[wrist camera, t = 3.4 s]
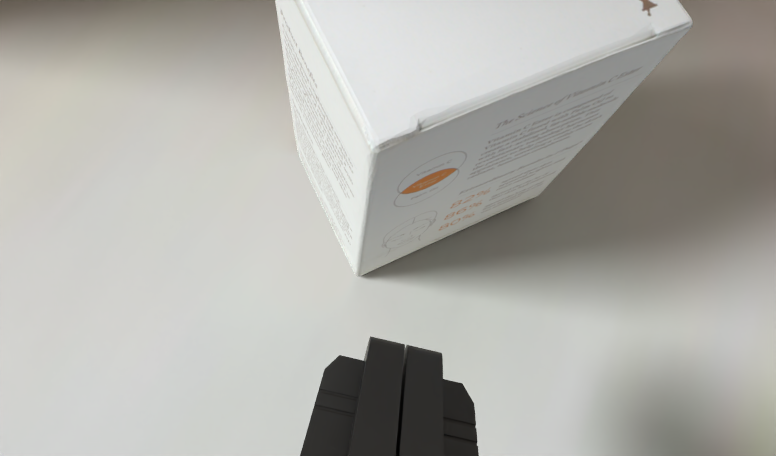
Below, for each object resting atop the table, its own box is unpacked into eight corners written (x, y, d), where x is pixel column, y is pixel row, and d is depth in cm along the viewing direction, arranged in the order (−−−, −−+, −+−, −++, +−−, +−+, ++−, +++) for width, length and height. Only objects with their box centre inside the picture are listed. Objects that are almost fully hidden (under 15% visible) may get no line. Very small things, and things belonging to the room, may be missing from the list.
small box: (473, 84, 24) (574, -161, 14) (540, 199, 22) (708, 18, 12) (292, 152, 22) (258, -72, 12) (353, 282, 20) (372, 150, 11)
